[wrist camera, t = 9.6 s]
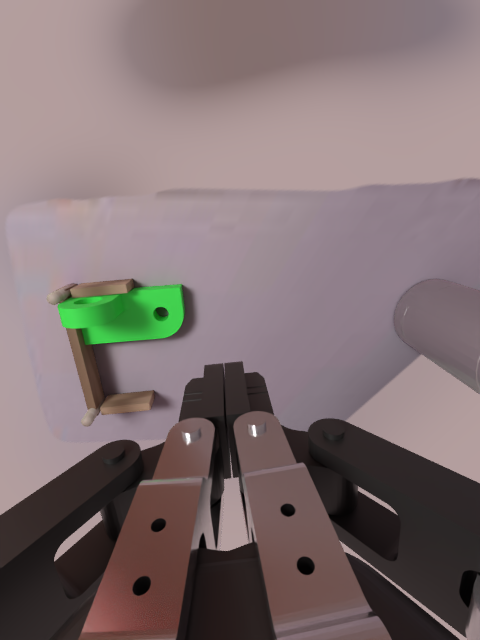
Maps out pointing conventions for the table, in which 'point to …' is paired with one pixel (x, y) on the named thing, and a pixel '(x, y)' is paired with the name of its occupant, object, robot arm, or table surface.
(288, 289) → the table surface
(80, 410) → the table surface
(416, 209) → the table surface
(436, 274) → the table surface
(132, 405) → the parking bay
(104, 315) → the mechanical part
